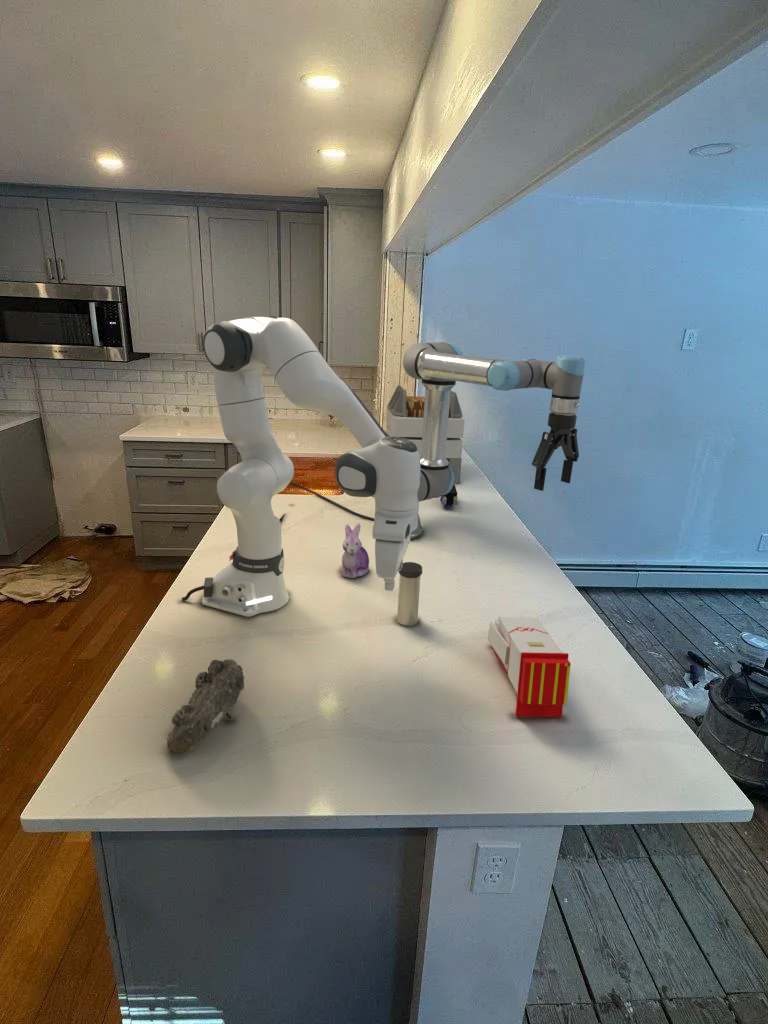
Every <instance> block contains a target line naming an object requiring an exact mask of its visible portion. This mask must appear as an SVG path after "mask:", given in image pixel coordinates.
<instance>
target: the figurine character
mask: <svg viewBox="0 0 768 1024" xmlns="http://www.w3.org/2000/svg"><path fill="white" fill-rule="evenodd" d="M439 501H440V503H441V505H442V506H443V508H444V509H445V510H447V508H448V507H450V508H451V510H454V506H458V501H459V497H458V491H457V487H456V485H455V483H454V484H453V487H452V489H451V490H450V491H449V492H448V493H447V494H445V495H443V496H441V497H440V498H439Z"/></svg>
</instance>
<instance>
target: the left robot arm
mask: <svg viewBox="0 0 768 1024" xmlns="http://www.w3.org/2000/svg"><path fill="white" fill-rule="evenodd" d="M202 344H203V345H202V347H203V351H204V355H205V357H206V359H207V361H208V362H209V364H210V365H211V366H212V367H213V385H214V392H215V393H214V394H215V398H216V404H217V408H218V412H219V413H218V414H219V417H220V421H221V427H222V430H223V435H224V437H225V439H226V440H227V441H229V442H230V443H232V444H233V445H234V446H235V448H236V449H237V451H238V453H239V455H240V458H241V462H238V463H237V464H234V465H232V466H230V467H229V468H228V469H227V470H226V471H225V472H224V473H223V474H222V475H221V476H220V477H219V478H218V480H217V482H216V493H217V496H218V499H219V501H220V502H221V503H222V504H223V506H225V507H226V508H227V509H229V510H230V511H231V513H232V516H233V519H234V522H235V527H236V536H237V546H236V547H235V550H233V551H232V553H231V554H230V555H229V557H228V558H229V559H228V561H232V562H230V563H229V564H228V565H226V566H225V567H223V568H222V569H220V570H219V571H218V572H217V573H216V574H215V576H214V577H213V576H212V577H211V576H210V577H204V582H203V585H201V586H197V587H195V588H192V589H190V590H189V591H188V592H187V593H186V595H185V596H183V597H181V601H182V602H186V601H187V600H189V599H190V597H191V595H192V594H194V593H196V592H200V591H202V590H203V595H202V599H201V604H202V605H204V606H207V607H210V608H214V609H218V610H221V611H225V612H228V613H232V614H236V615H239V616H241V617H246V618H251V617H253V616H256V615H258V614H259V615H260V614H262V613H270V612H273V611H276V610H278V609H281V608H282V607H284V606H285V605H286V604H288V602H289V600H290V595H289V593H288V590H287V586H286V582H285V576H284V571H285V556H284V555H285V552H284V549H283V541H282V540H283V539H282V538H283V537H282V521H281V522H280V520H279V519H280V518H278V517H277V516H275V514H274V511H273V508H272V499H273V497H274V496H276V495H277V494H279V493H281V492H283V491H284V490H285V489H286V488H287V487H288V486H289V483H290V482H292V480H293V478H294V474H295V468H294V463H293V462H292V460H291V458H290V457H289V456H288V455H287V454H285V453H284V452H283V451H282V449H281V447H280V446H279V443H278V442H277V439H276V437H275V435H274V433H273V432H274V431H273V429H272V426H271V422H270V417H269V414H268V412H269V411H268V407H267V403H266V398H265V393H264V389H263V386H262V379H261V378H262V374H263V372H264V370H265V369H266V368H267V369H268V370H269V372H270V373H271V375H272V376H273V379H274V381H275V382H276V383H277V386H278V387H279V389H280V390H281V392H282V393H283V395H284V396H285V397H286V398H287V399H288V400H289V401H290V402H291V403H292V404H293V405H294V406H296V407H298V408H301V409H303V410H307V411H315V412H318V413H323V414H325V415H330V416H332V417H334V418H336V419H337V420H339V421H340V422H341V423H342V424H343V425H344V426H345V428H346V429H348V431H349V432H350V434H351V435H352V437H353V438H354V439H355V440H356V442H357V443H358V444H359V446H360V447H359V448H356V449H352V450H349V451H347V452H345V453H342V454H341V455H340V456H339V457H338V458H337V460H336V462H335V466H334V478H335V481H336V483H337V487H339V489H340V490H341V491H342V492H343V493H345V495H347V496H349V497H354V498H370V497H371V498H373V499H374V518H375V519H374V521H373V522H374V523H373V527H372V534H371V535H372V536H371V537H372V539H373V540H375V542H374V558H375V561H374V562H375V572H376V573H375V574H376V575H377V577H378V578H380V579H383V581H384V590H386V591H388V592H393V591H394V589H395V584H396V580H395V578H396V577H397V574H398V573H399V572H398V571H401V569H402V565H403V563H404V556H405V555H406V552H407V551H408V548H409V545H410V542H411V540H410V537H411V532H412V531H414V530H415V529H416V528H417V527H418V514H419V507H420V506H419V505H420V502H419V501H418V497H417V493H418V489H419V486H420V455H419V451H418V448H417V446H416V445H415V444H414V443H413V442H412V441H410V440H408V439H405V438H401V437H394V436H389V435H388V434H387V433H386V430H384V428H383V427H382V426H381V424H380V423H379V421H378V420H377V419H376V417H375V416H374V415H373V414H372V412H371V411H370V410H369V408H367V406H366V404H365V403H364V402H363V401H362V400H361V398H360V397H359V396H358V395H357V394H356V392H355V391H354V390H353V389H352V388H351V387H350V386H349V385H348V384H347V383H346V382H344V381H343V380H342V379H341V378H340V377H339V376H338V375H337V373H336V372H335V371H334V370H333V369H332V368H331V366H330V365H329V364H328V362H326V361H327V360H325V358H324V357H323V355H322V354H321V352H320V350H319V348H317V346H316V344H315V343H314V342H313V340H312V339H311V337H309V335H308V334H307V333H306V332H305V331H304V329H303V328H302V327H301V326H300V325H299V324H298V323H297V322H296V321H295V320H293V319H291V318H288V317H279V316H274V315H270V316H245V317H243V318H236V319H232V320H221V321H217V322H215V323H213V324H211V325H209V326H208V327H207V328H206V330H205V332H204V335H203V341H202Z"/></svg>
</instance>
